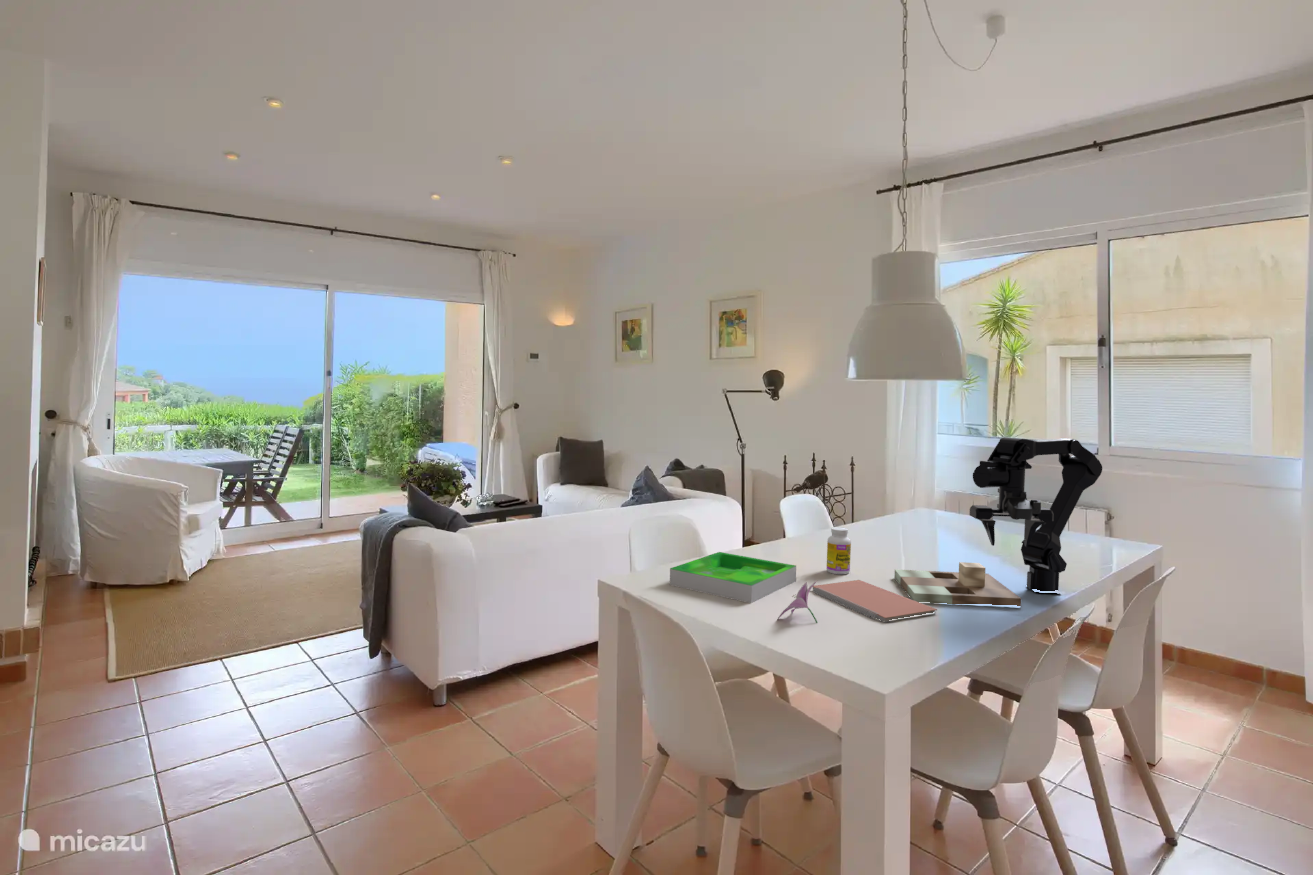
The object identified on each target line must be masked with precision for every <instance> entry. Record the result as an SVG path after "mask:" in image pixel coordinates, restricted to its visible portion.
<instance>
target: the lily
mask: <svg viewBox="0 0 1313 875" xmlns="http://www.w3.org/2000/svg"><path fill="white" fill-rule="evenodd" d="M818 581H819V579H818V580H816V581H814V582H813V583H812V584H811V585H809V587H808V581H806V582H804V584H803V585H802V586H801V588H799V590H798V592H797V593H796V594H793V595H792V596H791V597H792V598H793V597H794V598H795V599H793V601H791V603H789V605H788V606H787V607H785V609H784V610H783V611H782V612H781V613H780V615H778V617H777V619H776V620H779V619H780V618H781V617H782V616H783V615H784V614H786V612H788V611H789V610H790V614H793V613H794V612H795V610H797V609H807V610H808V611H809V612H810V614H811V616H812V617H813V619H814V621H815V623H816V624H818V620H817V618H816V617H815V615H814V613H813V612H812V610H811V609H810V607H809V604H808V598H809V593H810V592H811V589H813V586H815V585H816V584H817V582H818Z"/></svg>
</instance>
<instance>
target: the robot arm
mask: <svg viewBox="0 0 1313 875" xmlns="http://www.w3.org/2000/svg"><path fill="white" fill-rule="evenodd" d="M1049 455H1058V462H1059V463H1060V465H1061V467H1062V471H1061V477H1062V481H1063V482H1062V484H1061V487H1060V489H1059V490H1058V492H1057V494H1056V496H1055V498H1054V499H1053V502H1052V504H1051V506H1050V507H1049V508H1046V507H1044V506H1042V502H1041V500H1040V499H1031V500H1028V498H1027V491H1025V486H1026V485H1025V482H1026V480H1025V479H1026V470H1030V469H1032V468H1033V466H1032V464H1030V463H1028V460H1031V459H1034V458H1035V457H1037V456H1049ZM1071 455H1072V456H1071ZM1102 472H1103V464H1102V463H1101V461H1100V460H1099V459H1098V458H1097V456H1096V455H1095V454H1094V452H1093V453H1092V452H1091V451H1090V450H1088V449H1087V448H1085V447H1084V446H1083V445H1082V444H1081V442H1080V441H1079V440H1077V439H1075V438H1065V437H1061V438H1058V439H1039V440H1038V439H1037V440H1036V439H1035V440H1033V439H1028V438H1019V437H1006V436H1005V437H1004V436H1003V437H1001V438H999V440H998V443H997V444H996V446H995V447H994V449H993V451H992V452H991V454H990V455H989V456H988V459H987V460H979V465H978V466H977V467H975V468H974V471H973V473H972V480H973V483H974V485H976V487H978V488H981V489H986V488H997V493H998V503H997V504H996V508H992V507H990V506H988V505H981V504H980V505H977V504H976V505H974V504H972V505H971V506H970V507H969V514H968V515H969V516H970V517H971V518H974V519H975V520H979V521H980V522H981V523H982V525H983V528H984V529H985V531H986V534H987V537H988V540H989V542H990V545H991V546H992V547H994V546H995V543H996V542H995V541H996V539H995V538H996V537H995V535H996V534H995V525H996V523H997V522H996V521H997V520H994V517H1009V518H1011V519H1012V520H1024V534H1023V536H1024V537H1023V540H1022V541H1021V544H1022V545H1021V548H1020V551H1021V555H1022V560H1023V564H1024V565H1025V566H1029V569H1028V570H1029V571H1027V573H1026V585H1027V587H1029V588H1030V589H1037V590H1040V591H1055V590H1058V591H1059V587H1060V586H1059V585H1060V584H1059V583H1060V574H1061V573H1063V572H1065V571H1066V568H1067V566H1068V563H1067V562H1066V561H1065V559H1064V558H1063V557H1062V556H1061V550H1062V544H1061V535H1062V533H1063V531H1064V529H1065V527H1066V526H1067V523H1068V521H1069V519H1070V518H1071V516H1072V513H1073V511H1074V509H1075V508H1076V505H1077V504H1078V502H1079V500H1080V498H1081V496H1082V494H1083V492H1084V491H1085V490H1087V489H1088V488H1090V487H1091V486H1093V485H1095V483H1096V482H1097V480H1098V479H1099V477H1100V476H1101V474H1102ZM1027 587H1026V588H1027ZM1029 588H1028V589H1029ZM1030 589H1029V590H1030Z"/></svg>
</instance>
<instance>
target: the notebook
mask: <svg viewBox="0 0 1313 875" xmlns="http://www.w3.org/2000/svg"><path fill="white" fill-rule="evenodd" d="M812 592H814V594H815V595H818V596H819V597H821V598H825V599H827V600H828V601H832V602H833V603H836V604H837V605H840V606H843V607H845V608H847V609H849V610H851V611H853V610H854V612H855V613H856V612H857V613H859V614H860V615H862V616H865V617H867V618H871V620H874V619H875V618H877V619H880V620H881V621H880V622H882V621H889V620H892V619H898V618H904V617H910V616H914V615H922V614H926V613H933V612H935V613H936V611H938V609H937V608H934V607H933V606H930V605H928V604H923V603H919V602H917V601H914V600H911V598H910V597H909V598H908V597H905V596H902V595H900V594H898V593H895V592H894V591H893V592H892V591H890V590H887V589H885V588H883V587H879V586H877V585H874V584H871V583H869V582H866V581H863V580H861V579H857V580H847V581H840V582H839V581H838V582H832V583H831V582H830V583H824V584H814V586H813V587H812ZM852 608H853V609H852ZM864 613H865V614H864ZM868 615H869V616H868ZM870 616H871V617H870ZM873 617H874V618H873ZM877 619H875V620H877Z"/></svg>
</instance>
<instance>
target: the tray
mask: <svg viewBox="0 0 1313 875" xmlns="http://www.w3.org/2000/svg"><path fill="white" fill-rule="evenodd" d="M795 582H797V565H794V564H789V563H783V562H777V561H772V560H766V559H761V558H756V557H751V556H743V555H739V554H733V553H727V552H721V551H718V552H715V553H712V554H709V555H706V556H703V557H699V558H698V559H694V560H691V561H688V562H685V563H682V564H679V565H676V566H674V567H670V568H669V586H673V587H676V588H677V587H678V588H681V589H687V590H690V589H691V591H695V592H699V593H704V594H708V593H709V594H708V595H712V596H717V595H718V596H717V597H721V596H722V598H727V599H730V598H732V600H735V601H739V600H740V602H743V603H744V602H745V603H748V602H749V604H753V603H755V602H757V601H759V600H761V599H763V598H765V597H767V596H769V595H771V594H774V593H775V592H778V591H779V590H781V589H784V588H786V587H788V586H790V585H792V584H793V583H795Z"/></svg>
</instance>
